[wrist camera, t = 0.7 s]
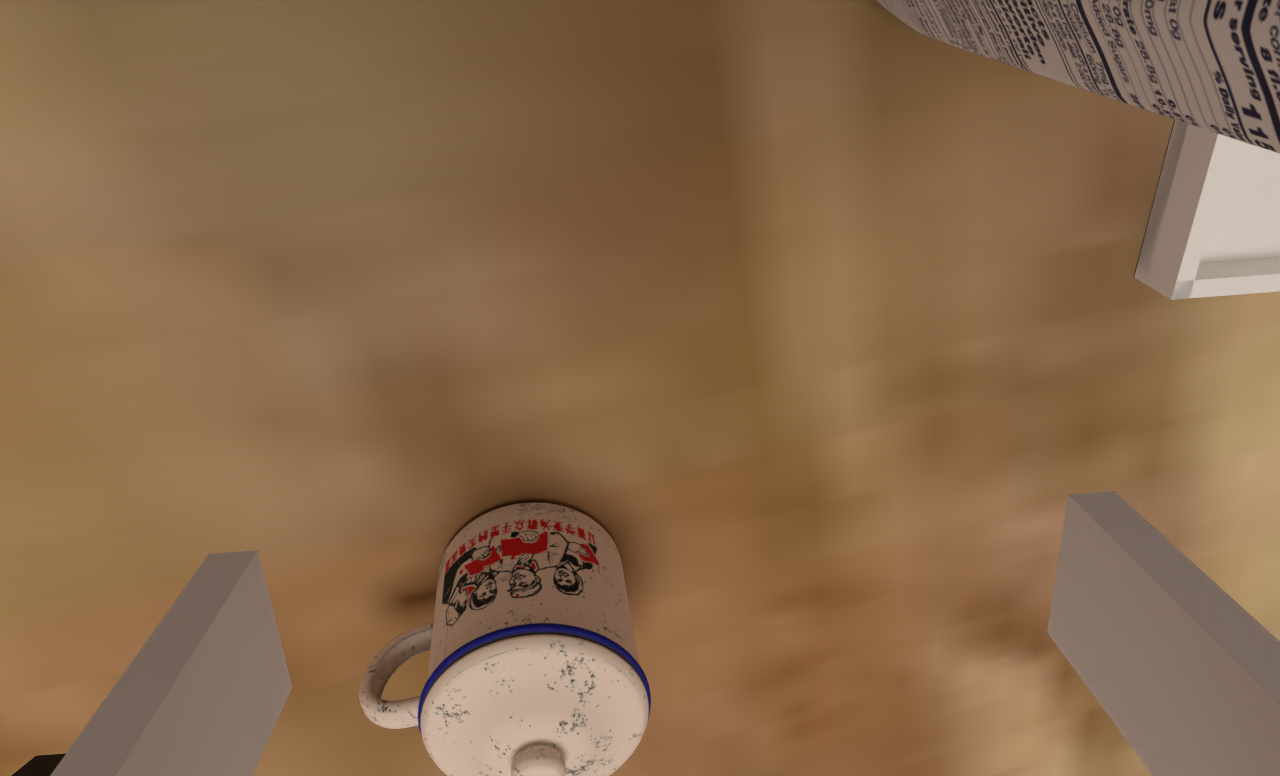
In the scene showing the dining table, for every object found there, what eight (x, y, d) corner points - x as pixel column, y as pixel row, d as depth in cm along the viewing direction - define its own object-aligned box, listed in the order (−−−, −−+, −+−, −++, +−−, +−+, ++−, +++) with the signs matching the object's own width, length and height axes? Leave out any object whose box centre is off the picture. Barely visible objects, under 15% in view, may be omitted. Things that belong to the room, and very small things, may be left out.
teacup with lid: (605, 474, 40) (638, 666, 30) (641, 619, 45) (680, 830, 35) (344, 533, 40) (289, 748, 30) (407, 674, 45) (377, 902, 34)
